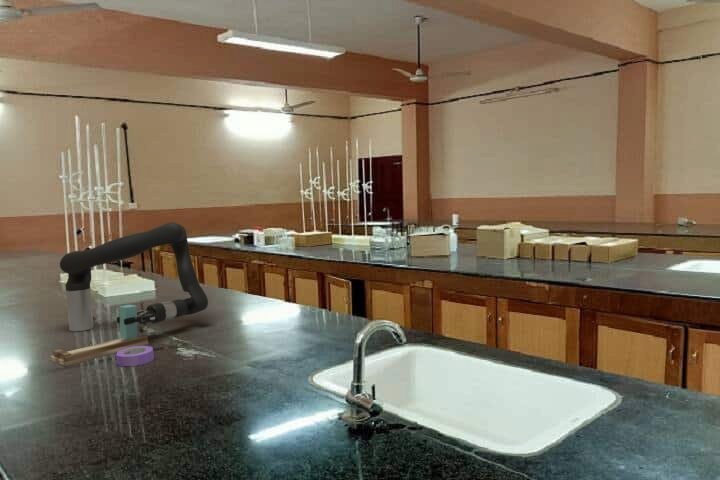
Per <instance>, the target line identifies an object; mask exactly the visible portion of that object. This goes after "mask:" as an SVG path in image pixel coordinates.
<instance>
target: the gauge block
mask: <svg viewBox="0 0 720 480" xmlns="http://www.w3.org/2000/svg"><path fill="white" fill-rule="evenodd" d="M118 309H119V310H118V311H119V316H118V317H120V323H119V338H123V339H126V340H127V339H132V338H136V337H139V335H138V333H139V330H138V323H135V322H134V323H132V324H128V325H124V319H127V318H131V317H135V316H137V312H138V306H137V305H133V304H125V305H120V306H119V307H118Z"/></svg>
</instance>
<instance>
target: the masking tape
mask: <svg viewBox="0 0 720 480" xmlns="http://www.w3.org/2000/svg"><path fill="white" fill-rule="evenodd" d="M115 354H116V355H115V358H116V365H117V364H118V365H119V367H122V366H133V367H138V366H137V365H139V366H143V364H144V365H147V364H149V363H151V362H153V361H154V360H155V354H154V348H153V347H152V346H149V345H142V346H135V347H129V348H125V349H122V350H120V351H118V352H117V353H115ZM118 365H117V366H118Z"/></svg>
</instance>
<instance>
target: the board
mask: <svg viewBox="0 0 720 480" xmlns="http://www.w3.org/2000/svg"><path fill="white" fill-rule="evenodd" d="M145 344H146V345H149V336H148V335H143V336H140V337H139V336H138V337H136V338H132V339H127V340H126V339H123V338H120V337H119V338H115V339H112V340H108V341H104V342H100V343H96V344H93V345H92V344H91V345H89V346H88V345H87V346H85V347H81V348H76V349H72V350H69V351H65V350H63V349H59V348H58V349H55V350H52V355H49V357H50V358H49V359H50V362H51V361H52V362H54V363H57V364H60V365H62V366H65V367H69V366H72V365H76V364H80V363H85V362H87V361H92V360H95V359H98V358H101V357H102V358H103V357H105V356H109V354H110V355H113V354H116V352H118V351H120V350H122V349H125V348H129V347H135V346H146V345H145Z"/></svg>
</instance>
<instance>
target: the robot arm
mask: <svg viewBox="0 0 720 480" xmlns="http://www.w3.org/2000/svg"><path fill="white" fill-rule="evenodd" d="M165 245H169V246H170V247H171V249H172V251H173V254H174V257H175V261H176V269H177V270H176V271H177V275H178V280H179V283H180V285H181V288H182V291H183V292H184V293H188V294H189V295H190V297H189V298H188V297H187V298H185V299H173V300H169V301H163V302H161V301H160V302H157V303H151V304H149V305H147V307H146V309H145V310H144V309H141V310H139V311H138V310H137V316H135V317H131V318H127V319H124V325H128V324H132V323H134V322H135V323H137V324H139V325H140V324H146V323H151V324H159V323H161V322H167V321H170V320H171V319H175V318H179V317H183V316H188V315H194V314H197V313H200V312H202V311H205V310H206V309H207V308H208V307H209V300H208V297H207V295H206V293H205V291H204V289H203V288H202V286H201V284H200V282H199V279H198V277H197V273H196V271H195V268H194V263H193V261H192V257H191V253H190V249H189V244H188V236H187V231H186V228H185V227H184V226H183V225H182V224H179V223H176V222H166V223H165V224H163V225H159V226H158V227H154V228H152V229H150V230H146V231H143V232H137V233H133V234H130V235H125V236H122V237H117V238H115V239H112V240H110V241H107V242H104V243H102V244H100V245H97V246H95V247H92V248H89V249H86V250H73V251H71V252H68V253H65V254H64V255H63V256H62V257H61V259H60V261H59V268H60V269H61V270H62V272H64V273H65V274H68V275H67V276H68V278H67V281H66V283H65V294H66V295H65V297H66V309H67V318H68V320H67V321H68V330H69V332H83V331H88V330H92V329H93V328H94V317H93V316H94V315H93V307H92V306H93V305H92V304H93V303H92V292H91V282H92V268H93V267H94V268H95V267H96V266H100V265H105V264H111V263H116V262H120V261H124V260H128V259H130V258H134V257H136V256H139V255H140V254H143V253H144V252H146V251H148V250H150V249H153V248H155V247H157V248H158V247H161V246H165ZM116 323H117V324H120V316H117V317H116Z"/></svg>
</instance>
